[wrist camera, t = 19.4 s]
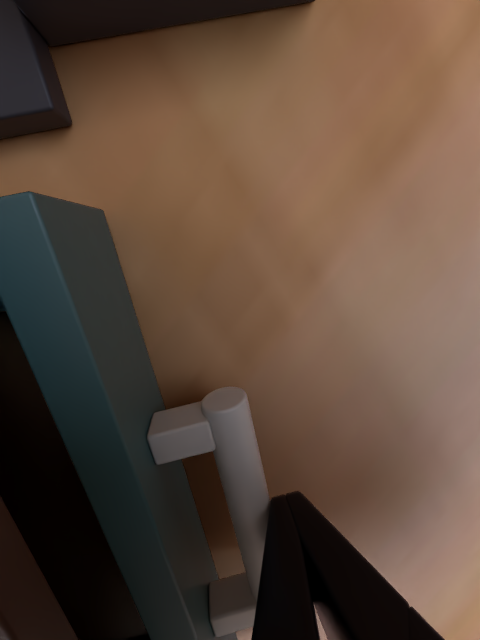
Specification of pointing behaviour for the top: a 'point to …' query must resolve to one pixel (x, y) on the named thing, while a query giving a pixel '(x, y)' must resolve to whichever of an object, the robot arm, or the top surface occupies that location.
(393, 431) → the top surface
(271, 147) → the top surface
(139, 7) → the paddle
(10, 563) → the drawer unit
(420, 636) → the robot arm
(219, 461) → the drawer
